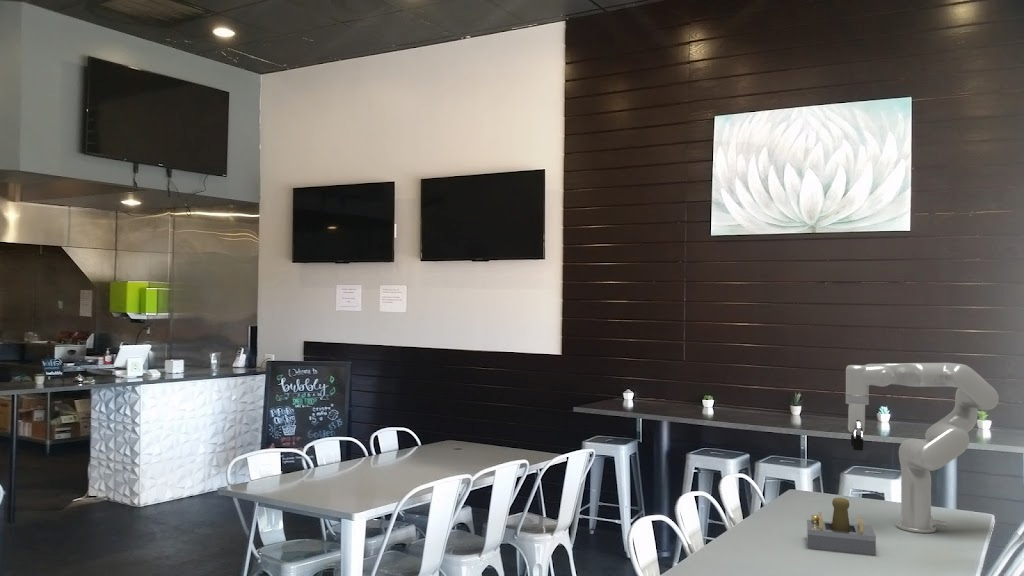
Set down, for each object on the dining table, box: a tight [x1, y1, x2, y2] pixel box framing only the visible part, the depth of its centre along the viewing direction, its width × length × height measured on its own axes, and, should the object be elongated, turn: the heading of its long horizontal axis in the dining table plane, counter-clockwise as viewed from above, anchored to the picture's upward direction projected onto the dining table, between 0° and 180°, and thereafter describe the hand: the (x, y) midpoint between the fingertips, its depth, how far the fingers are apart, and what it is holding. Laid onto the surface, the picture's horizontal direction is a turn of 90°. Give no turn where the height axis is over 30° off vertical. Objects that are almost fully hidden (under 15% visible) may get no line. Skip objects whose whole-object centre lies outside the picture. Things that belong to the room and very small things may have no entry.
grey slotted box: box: [806, 511, 877, 557], centre depth 262 cm, size 20×14×10 cm
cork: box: [831, 497, 850, 532], centre depth 262 cm, size 6×6×11 cm
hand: (857, 448), depth 286 cm, fingers open, 9 cm apart
